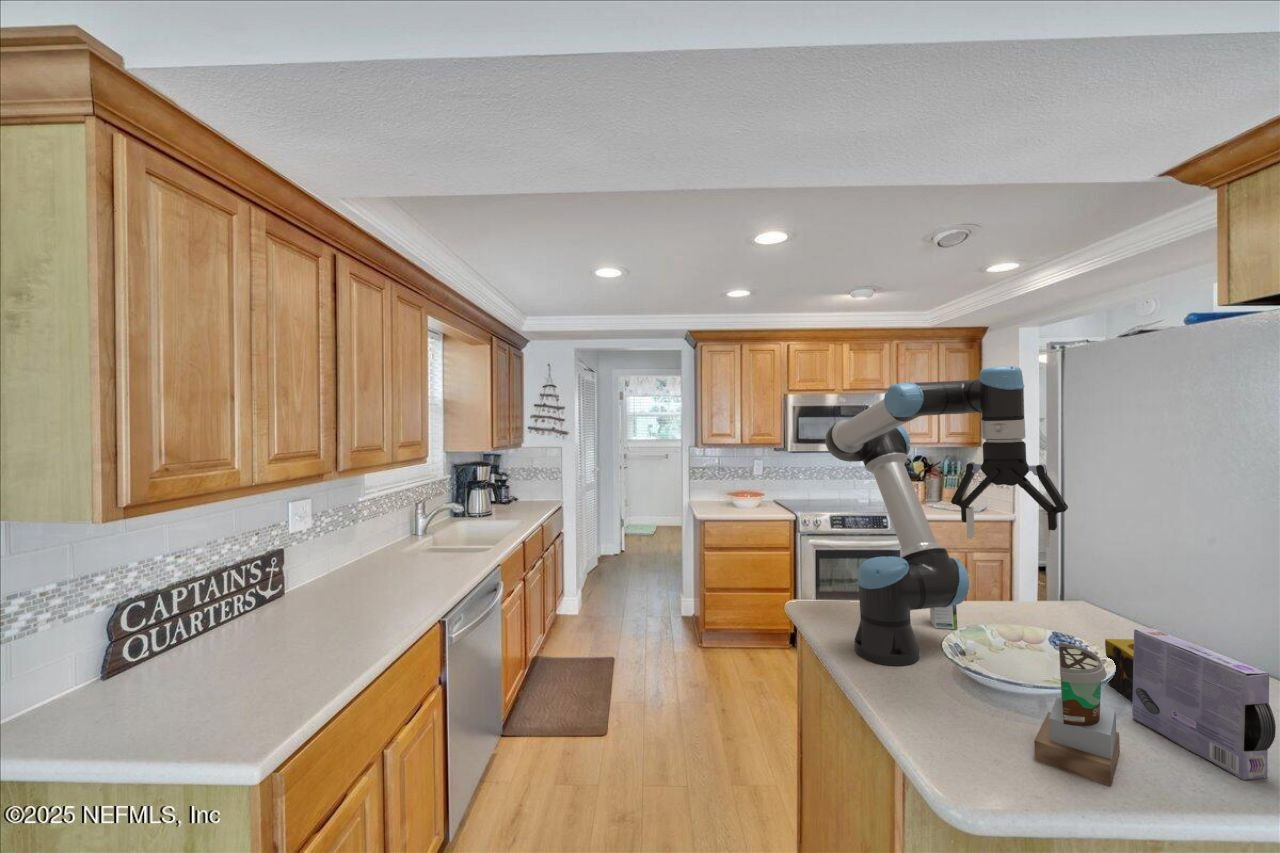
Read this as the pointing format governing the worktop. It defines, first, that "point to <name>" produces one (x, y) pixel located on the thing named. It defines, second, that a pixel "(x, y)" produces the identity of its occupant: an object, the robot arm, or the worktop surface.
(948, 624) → the syrup box
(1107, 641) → the yellow black cube
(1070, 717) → the food container
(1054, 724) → the slate top block
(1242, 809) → the worktop surface
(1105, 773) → the walnut base block
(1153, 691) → the cake pan box
